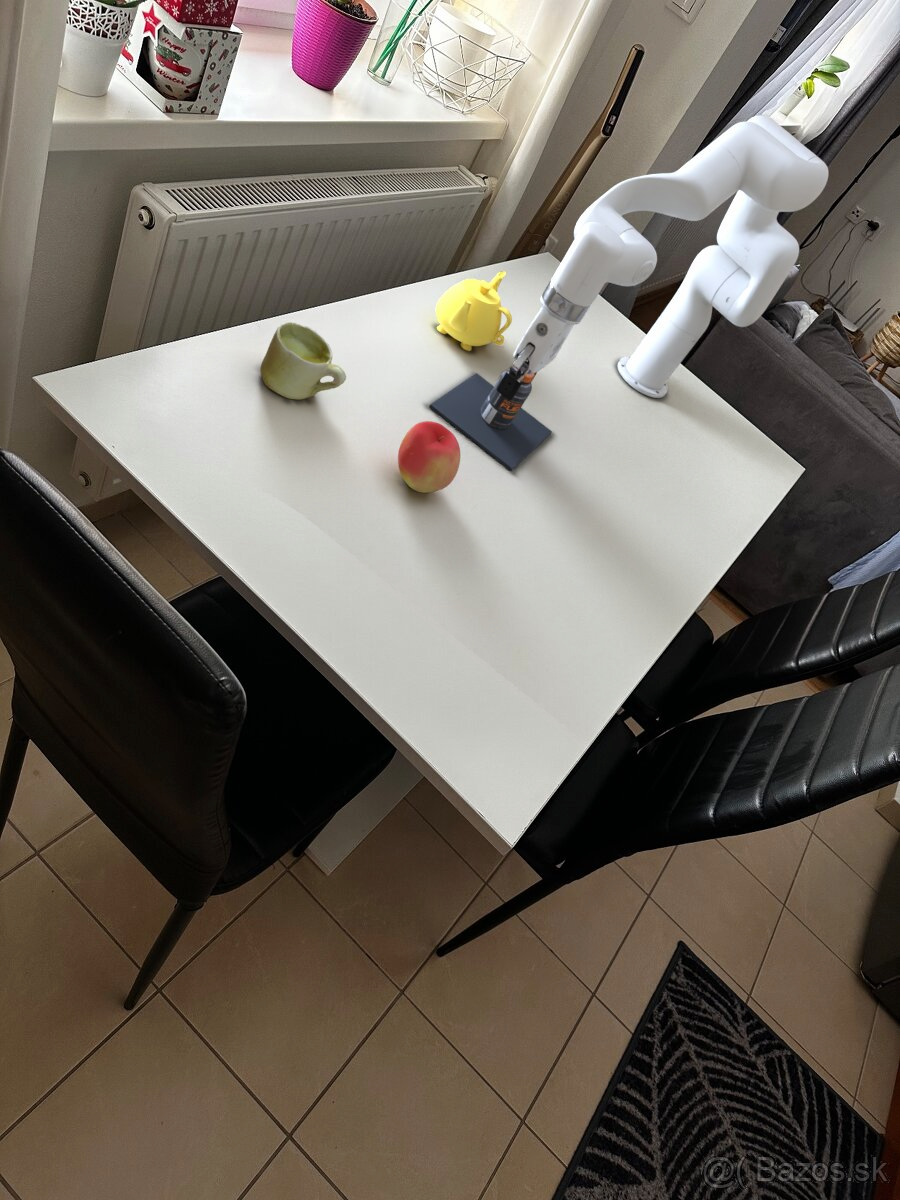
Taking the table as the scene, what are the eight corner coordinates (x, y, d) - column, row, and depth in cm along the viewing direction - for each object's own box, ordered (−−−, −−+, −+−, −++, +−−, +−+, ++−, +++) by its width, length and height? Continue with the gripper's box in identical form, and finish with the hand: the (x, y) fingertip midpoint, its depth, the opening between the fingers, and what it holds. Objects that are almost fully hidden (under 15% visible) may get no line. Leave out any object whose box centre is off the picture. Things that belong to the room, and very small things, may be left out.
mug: (236, 363, 128) (277, 314, 124) (268, 360, 138) (307, 314, 134) (292, 424, 129) (334, 378, 125) (320, 417, 138) (360, 373, 134)
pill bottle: (488, 429, 150) (519, 379, 142) (474, 406, 152) (503, 355, 145) (514, 430, 153) (545, 381, 146) (500, 407, 156) (530, 358, 148)
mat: (475, 375, 160) (476, 372, 160) (550, 433, 159) (552, 431, 159) (428, 406, 147) (430, 404, 147) (510, 471, 146) (512, 468, 146)
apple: (376, 481, 129) (402, 432, 122) (399, 451, 136) (425, 403, 129) (430, 515, 129) (459, 468, 123) (451, 484, 136) (479, 438, 130)
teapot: (476, 376, 160) (504, 326, 152) (411, 331, 160) (436, 278, 152) (511, 341, 175) (539, 294, 167) (452, 299, 175) (477, 250, 167)
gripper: (564, 330, 129) (508, 419, 142) (602, 302, 142) (547, 386, 154) (525, 300, 130) (472, 391, 142) (566, 275, 143) (515, 361, 155)
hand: (512, 388), depth 148 cm, fingers closed on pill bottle, 6 cm apart
